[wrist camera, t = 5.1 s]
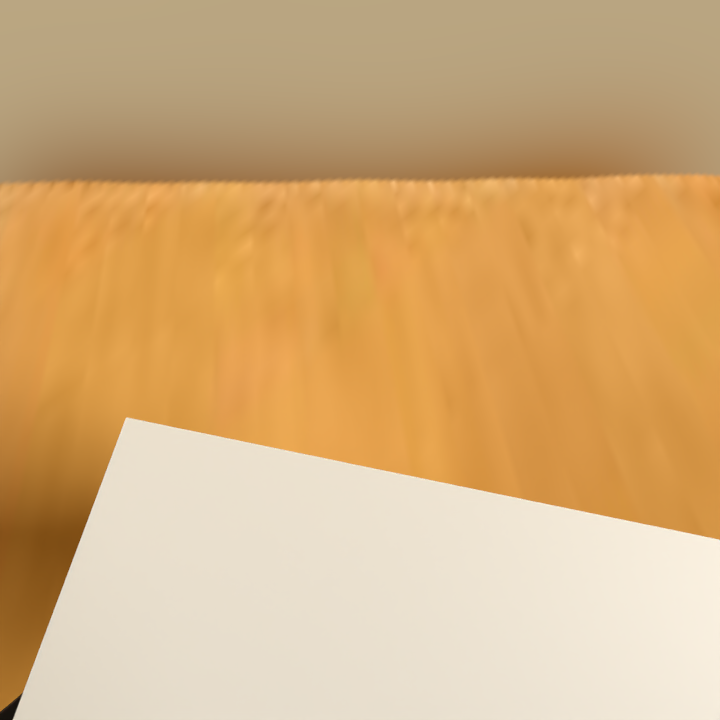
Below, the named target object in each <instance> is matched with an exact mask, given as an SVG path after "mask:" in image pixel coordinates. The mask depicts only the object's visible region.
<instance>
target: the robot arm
mask: <svg viewBox="0 0 720 720" xmlns="http://www.w3.org/2000/svg"><path fill="white" fill-rule="evenodd" d="M22 694H23V693H22ZM22 694H21V695H20V696H19V697H17V698H16V699H15V700H14V701H13V702H12V703H10V704H9V705H8V706H7V707H6V708H4V709H3V710H2V711H1V712H0V720H13V718H14V716H15V713H16V710H17V708H18V705H19V702H20V700H21V697H22Z"/></svg>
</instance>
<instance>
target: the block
mask: <svg viewBox="0 0 720 720" xmlns="http://www.w3.org/2000/svg"><path fill="white" fill-rule="evenodd" d="M13 720H720V540H718V539H713V538H709V537H704V536H699V535H694V534H689V533H684V532H679V531H675V530H670V529H665V528H660V527H655V526H650V525H645V524H641V523H636V522H631V521H626V520H621V519H616V518H612V517H607V516H602V515H597V514H592V513H587V512H582V511H578V510H573V509H568V508H563V507H558V506H553V505H548V504H544V503H539V502H534V501H529V500H524V499H519V498H514V497H510V496H505V495H500V494H495V493H490V492H485V491H481V490H476V489H471V488H466V487H461V486H456V485H451V484H447V483H442V482H437V481H432V480H427V479H422V478H417V477H413V476H408V475H403V474H398V473H393V472H388V471H383V470H379V469H374V468H369V467H364V466H359V465H354V464H350V463H345V462H340V461H335V460H330V459H325V458H320V457H316V456H311V455H306V454H301V453H296V452H291V451H286V450H282V449H277V448H272V447H267V446H262V445H257V444H252V443H248V442H243V441H238V440H233V439H228V438H223V437H218V436H214V435H209V434H204V433H199V432H194V431H189V430H185V429H180V428H175V427H170V426H165V425H160V424H155V423H151V422H146V421H141V420H136V419H131V418H126V419H125V422H124V425H123V427H122V430H121V433H120V435H119V438H118V441H117V443H116V446H115V449H114V451H113V454H112V457H111V459H110V462H109V465H108V467H107V470H106V473H105V475H104V478H103V481H102V483H101V486H100V489H99V491H98V494H97V497H96V499H95V502H94V505H93V507H92V510H91V513H90V515H89V518H88V521H87V523H86V526H85V529H84V531H83V534H82V537H81V539H80V542H79V545H78V547H77V550H76V553H75V555H74V558H73V561H72V563H71V566H70V569H69V571H68V574H67V577H66V579H65V582H64V585H63V587H62V590H61V593H60V595H59V598H58V601H57V603H56V606H55V609H54V611H53V614H52V617H51V619H50V622H49V625H48V627H47V630H46V633H45V635H44V638H43V641H42V643H41V646H40V649H39V651H38V654H37V657H36V659H35V662H34V665H33V668H32V670H31V673H30V676H29V678H28V681H27V684H26V686H25V689H24V692H23V694H22V697H21V700H20V702H19V705H18V708H17V710H16V713H15V716H14V718H13Z"/></svg>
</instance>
